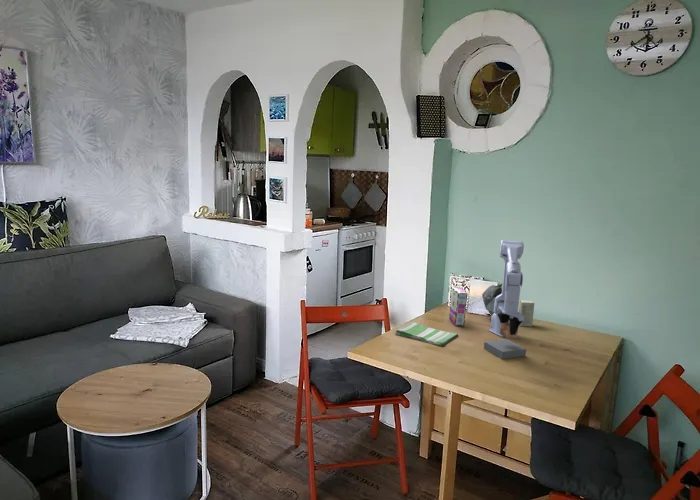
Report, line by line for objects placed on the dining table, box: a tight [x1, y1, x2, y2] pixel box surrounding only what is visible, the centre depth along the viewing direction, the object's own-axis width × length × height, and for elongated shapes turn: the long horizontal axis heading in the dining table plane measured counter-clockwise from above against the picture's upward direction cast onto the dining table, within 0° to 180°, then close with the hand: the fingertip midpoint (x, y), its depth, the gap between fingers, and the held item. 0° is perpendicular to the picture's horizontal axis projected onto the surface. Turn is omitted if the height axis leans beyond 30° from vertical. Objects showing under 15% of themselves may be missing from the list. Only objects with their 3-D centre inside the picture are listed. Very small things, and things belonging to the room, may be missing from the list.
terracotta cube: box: [500, 322, 519, 339], centre depth 213 cm, size 5×5×5 cm
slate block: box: [483, 338, 527, 360], centre depth 213 cm, size 12×12×3 cm
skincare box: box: [518, 299, 535, 327], centre depth 251 cm, size 6×4×12 cm
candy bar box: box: [448, 287, 468, 327], centre depth 249 cm, size 11×5×16 cm, turn 5°
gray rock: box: [481, 283, 504, 321], centre depth 258 cm, size 14×15×18 cm
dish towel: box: [395, 321, 459, 347], centre depth 229 cm, size 18×23×3 cm
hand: (508, 332), depth 213 cm, fingers closed on terracotta cube, 5 cm apart
